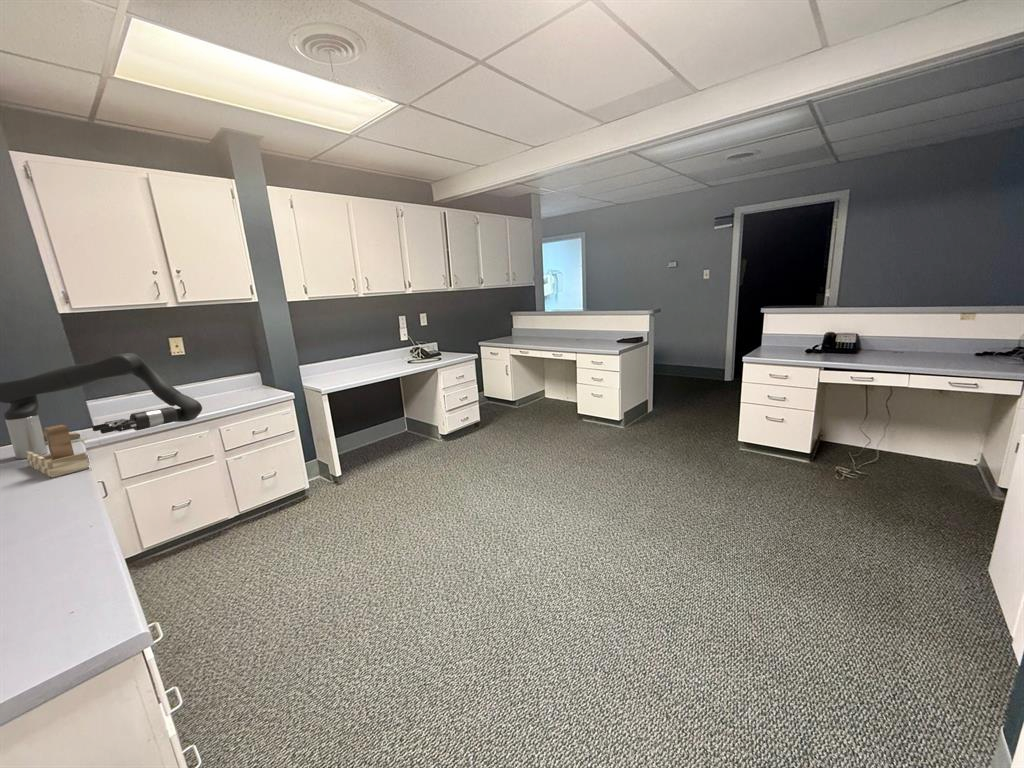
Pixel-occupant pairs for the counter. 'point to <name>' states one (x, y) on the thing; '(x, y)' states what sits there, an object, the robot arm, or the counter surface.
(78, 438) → the packaged product
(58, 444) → the walnut block
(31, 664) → the counter surface
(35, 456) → the box
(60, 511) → the counter surface
